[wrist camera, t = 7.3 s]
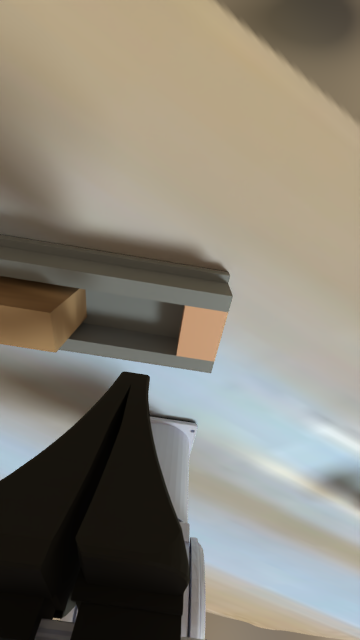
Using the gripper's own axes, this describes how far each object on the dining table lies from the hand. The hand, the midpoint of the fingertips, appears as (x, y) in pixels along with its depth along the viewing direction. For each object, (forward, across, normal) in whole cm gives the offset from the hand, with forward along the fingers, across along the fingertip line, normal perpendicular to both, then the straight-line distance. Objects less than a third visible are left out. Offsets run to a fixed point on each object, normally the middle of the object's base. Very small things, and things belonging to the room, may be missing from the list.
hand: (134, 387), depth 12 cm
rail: (+9, +6, 0) cm, 11 cm away
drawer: (+8, +10, 0) cm, 13 cm away
